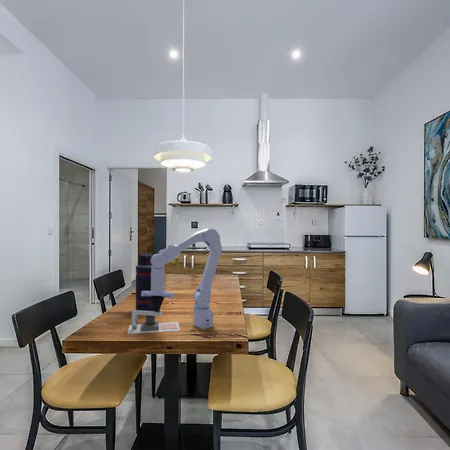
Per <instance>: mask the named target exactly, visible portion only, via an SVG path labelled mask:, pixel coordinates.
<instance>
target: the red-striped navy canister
mask: <svg viewBox="0 0 450 450" xmlns="http://www.w3.org/2000/svg"><path fill="white" fill-rule="evenodd" d="M153 255H155V254H153V253H152V254H151V253H144V254H142V253H141V254H139V255H138V262H137V265H136V266H135V273H136V274H135V310H142V311H155V309H154V306H153V304H152V302H151V300H150V298H151V297H152V296H141V292H142V291H151V271H152V270H151V267H152V266H153V265H152V264H151V262H150V260H151V258H152V256H153Z"/></svg>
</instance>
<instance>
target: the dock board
mask: <svg viewBox="0 0 450 450" xmlns="http://www.w3.org/2000/svg"><path fill="white" fill-rule="evenodd" d="M172 323H176V324H177V329H164V330H161V324H172ZM176 331H177V332H178V331H181V329H180V324H179V322H178V321H172V322H171V321H170V322H159V321H158V320H157V321H156V320H155V326H145V321H143V322H141V323H140V324H139V323H137V329H132V324H129V327H128V329H127V335H130V334H131V335H132V334H147V333H161V332H163V333H164V332H176Z"/></svg>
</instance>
